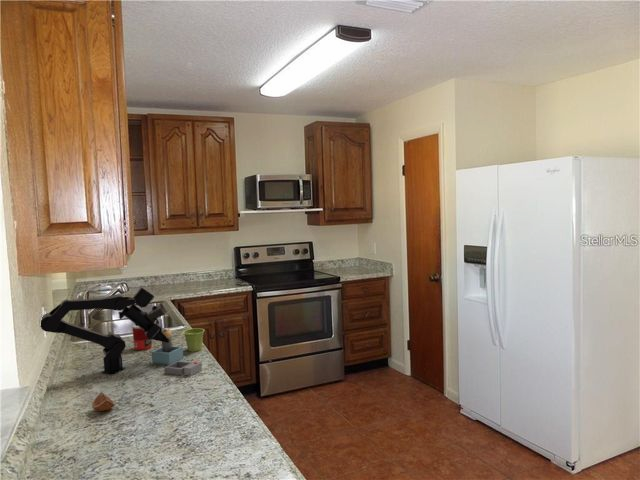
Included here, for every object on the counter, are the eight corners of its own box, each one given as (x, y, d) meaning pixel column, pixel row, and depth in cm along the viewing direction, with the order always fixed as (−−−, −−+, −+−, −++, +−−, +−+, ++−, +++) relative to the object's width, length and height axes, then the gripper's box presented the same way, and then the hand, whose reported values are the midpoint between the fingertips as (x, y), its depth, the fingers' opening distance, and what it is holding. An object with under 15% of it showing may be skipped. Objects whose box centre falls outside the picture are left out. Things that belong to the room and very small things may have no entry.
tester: (190, 376, 182) (189, 366, 181) (164, 373, 186) (164, 364, 186) (202, 369, 189) (202, 360, 189) (177, 366, 193) (177, 357, 193)
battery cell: (172, 360, 200) (169, 329, 198) (161, 361, 199) (159, 330, 198) (173, 357, 204) (171, 327, 202) (163, 358, 203) (161, 327, 202)
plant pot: (208, 346, 220) (207, 328, 219) (201, 353, 210) (200, 333, 210) (188, 346, 221) (187, 328, 220) (181, 353, 211) (179, 334, 211)
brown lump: (117, 411, 153) (116, 396, 152) (95, 418, 149) (93, 402, 149) (112, 403, 160) (111, 389, 159) (90, 409, 156) (89, 394, 156)
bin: (169, 365, 196) (168, 353, 195) (152, 363, 199) (151, 351, 198) (183, 358, 204) (182, 346, 203) (166, 356, 207) (165, 345, 207)
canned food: (148, 350, 217) (146, 326, 216) (131, 351, 218) (129, 327, 217) (154, 345, 225) (153, 322, 224) (138, 346, 225) (136, 323, 224)
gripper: (153, 305, 189) (183, 328, 194) (149, 297, 206) (178, 319, 211) (133, 327, 186) (164, 350, 191) (131, 317, 203) (160, 339, 209)
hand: (167, 338), depth 201 cm, fingers open, 9 cm apart
